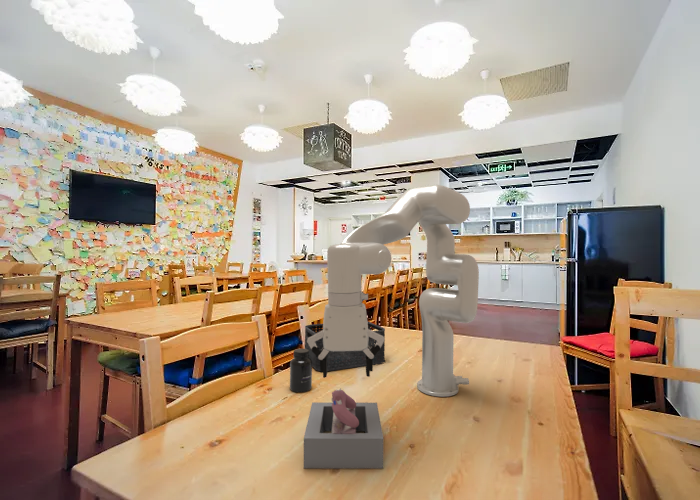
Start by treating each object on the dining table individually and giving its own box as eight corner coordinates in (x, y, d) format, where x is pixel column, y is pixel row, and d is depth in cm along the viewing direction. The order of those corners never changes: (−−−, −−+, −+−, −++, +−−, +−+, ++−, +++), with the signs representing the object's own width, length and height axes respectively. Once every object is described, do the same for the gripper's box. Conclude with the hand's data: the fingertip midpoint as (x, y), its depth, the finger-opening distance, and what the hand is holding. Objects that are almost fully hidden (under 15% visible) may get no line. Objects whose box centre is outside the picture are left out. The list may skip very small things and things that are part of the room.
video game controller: (340, 414, 82) (327, 388, 81) (357, 405, 82) (344, 379, 82) (341, 437, 72) (326, 407, 72) (361, 426, 72) (346, 397, 72)
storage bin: (365, 349, 150) (365, 319, 150) (388, 363, 132) (388, 328, 132) (302, 358, 138) (302, 325, 138) (318, 374, 120) (318, 336, 120)
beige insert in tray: (354, 411, 83) (354, 405, 83) (355, 441, 70) (355, 434, 70) (334, 411, 83) (334, 405, 83) (331, 441, 70) (331, 434, 70)
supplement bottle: (307, 394, 103) (307, 354, 103) (286, 392, 105) (286, 353, 105) (314, 385, 110) (314, 348, 110) (294, 383, 112) (294, 346, 112)
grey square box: (376, 426, 85) (376, 402, 85) (383, 468, 69) (383, 438, 69) (312, 426, 85) (312, 402, 85) (303, 468, 69) (303, 438, 69)
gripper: (381, 295, 80) (383, 367, 81) (308, 297, 80) (310, 369, 81) (385, 301, 73) (386, 380, 73) (304, 303, 73) (306, 382, 73)
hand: (346, 374), depth 77 cm, fingers open, 9 cm apart
